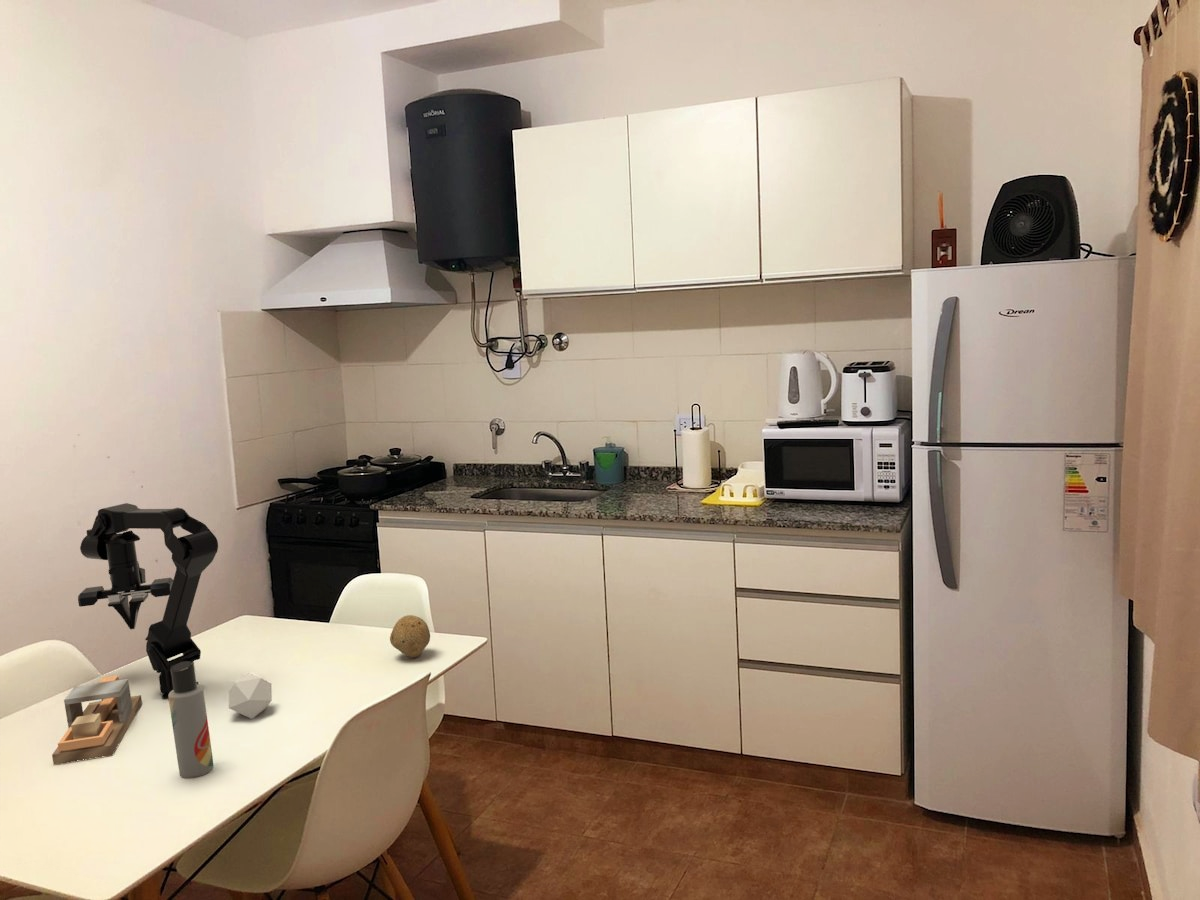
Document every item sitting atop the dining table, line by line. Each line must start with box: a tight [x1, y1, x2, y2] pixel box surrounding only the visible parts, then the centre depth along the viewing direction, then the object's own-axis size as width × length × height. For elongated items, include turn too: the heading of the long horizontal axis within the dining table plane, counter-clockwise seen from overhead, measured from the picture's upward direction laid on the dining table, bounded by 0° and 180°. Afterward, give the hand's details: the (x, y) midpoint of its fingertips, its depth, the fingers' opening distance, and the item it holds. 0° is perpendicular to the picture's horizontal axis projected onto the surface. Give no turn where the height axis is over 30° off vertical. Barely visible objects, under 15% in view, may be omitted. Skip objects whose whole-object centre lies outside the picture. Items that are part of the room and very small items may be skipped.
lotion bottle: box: [168, 661, 214, 779], centre depth 167 cm, size 6×6×20 cm
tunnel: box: [51, 678, 143, 765], centre depth 187 cm, size 10×25×8 cm, turn 14°
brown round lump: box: [389, 614, 431, 659], centre depth 217 cm, size 9×9×10 cm
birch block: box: [71, 713, 103, 740], centre depth 180 cm, size 4×4×4 cm
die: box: [228, 672, 273, 720], centre depth 192 cm, size 8×9×10 cm
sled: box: [57, 675, 120, 751], centre depth 187 cm, size 8×24×5 cm, turn 14°
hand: (132, 628), depth 211 cm, fingers closed
